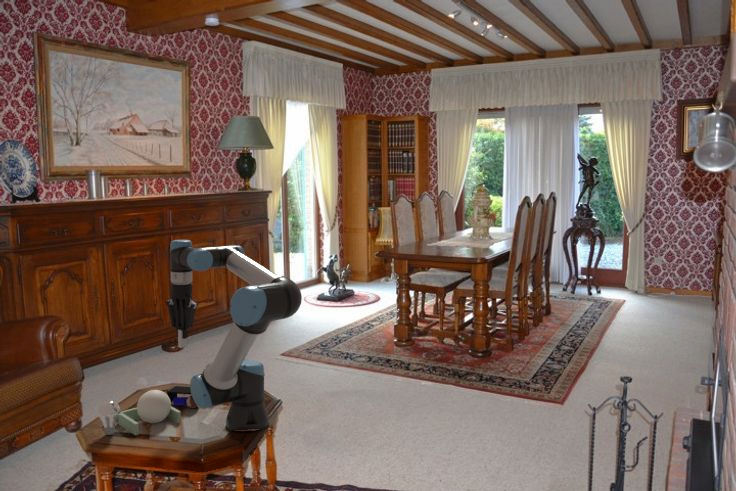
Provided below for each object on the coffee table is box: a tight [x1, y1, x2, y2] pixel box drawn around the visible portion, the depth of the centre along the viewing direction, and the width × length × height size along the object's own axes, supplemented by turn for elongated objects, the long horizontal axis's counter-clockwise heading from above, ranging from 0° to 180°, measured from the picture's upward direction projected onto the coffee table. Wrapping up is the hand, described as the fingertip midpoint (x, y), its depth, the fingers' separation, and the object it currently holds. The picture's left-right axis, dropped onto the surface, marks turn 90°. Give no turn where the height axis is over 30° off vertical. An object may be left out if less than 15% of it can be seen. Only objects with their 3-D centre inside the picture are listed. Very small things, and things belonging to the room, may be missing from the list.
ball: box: [136, 389, 171, 424], centre depth 222 cm, size 12×12×12 cm
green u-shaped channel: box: [116, 406, 182, 436], centre depth 221 cm, size 14×17×4 cm
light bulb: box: [97, 399, 121, 436], centre depth 210 cm, size 7×7×12 cm
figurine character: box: [165, 385, 198, 409], centre depth 238 cm, size 7×8×15 cm
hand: (182, 346), depth 225 cm, fingers closed
